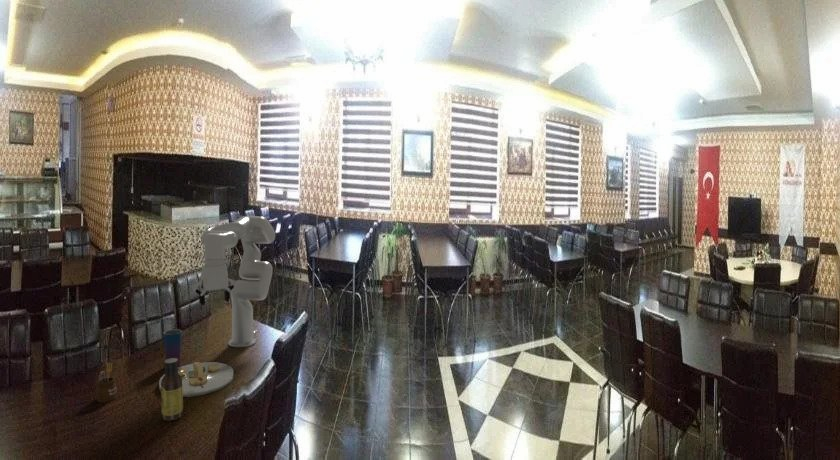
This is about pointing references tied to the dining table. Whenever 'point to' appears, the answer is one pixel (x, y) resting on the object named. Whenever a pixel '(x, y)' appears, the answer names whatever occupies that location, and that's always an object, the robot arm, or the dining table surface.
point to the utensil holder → (106, 387)
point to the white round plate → (216, 374)
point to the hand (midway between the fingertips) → (214, 302)
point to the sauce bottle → (171, 391)
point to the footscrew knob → (198, 375)
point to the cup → (172, 344)
